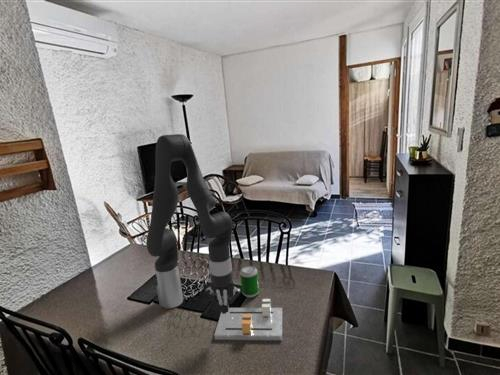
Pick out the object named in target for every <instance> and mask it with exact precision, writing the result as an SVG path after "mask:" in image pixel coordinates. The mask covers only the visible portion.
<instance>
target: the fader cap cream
mask: <svg viewBox="0 0 500 375" xmlns="http://www.w3.org/2000/svg"><path fill="white" fill-rule="evenodd" d="M271 302H272V301H271V298H262V301H261V308H262V316H270V315H271V308H272V304H271Z"/></svg>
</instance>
